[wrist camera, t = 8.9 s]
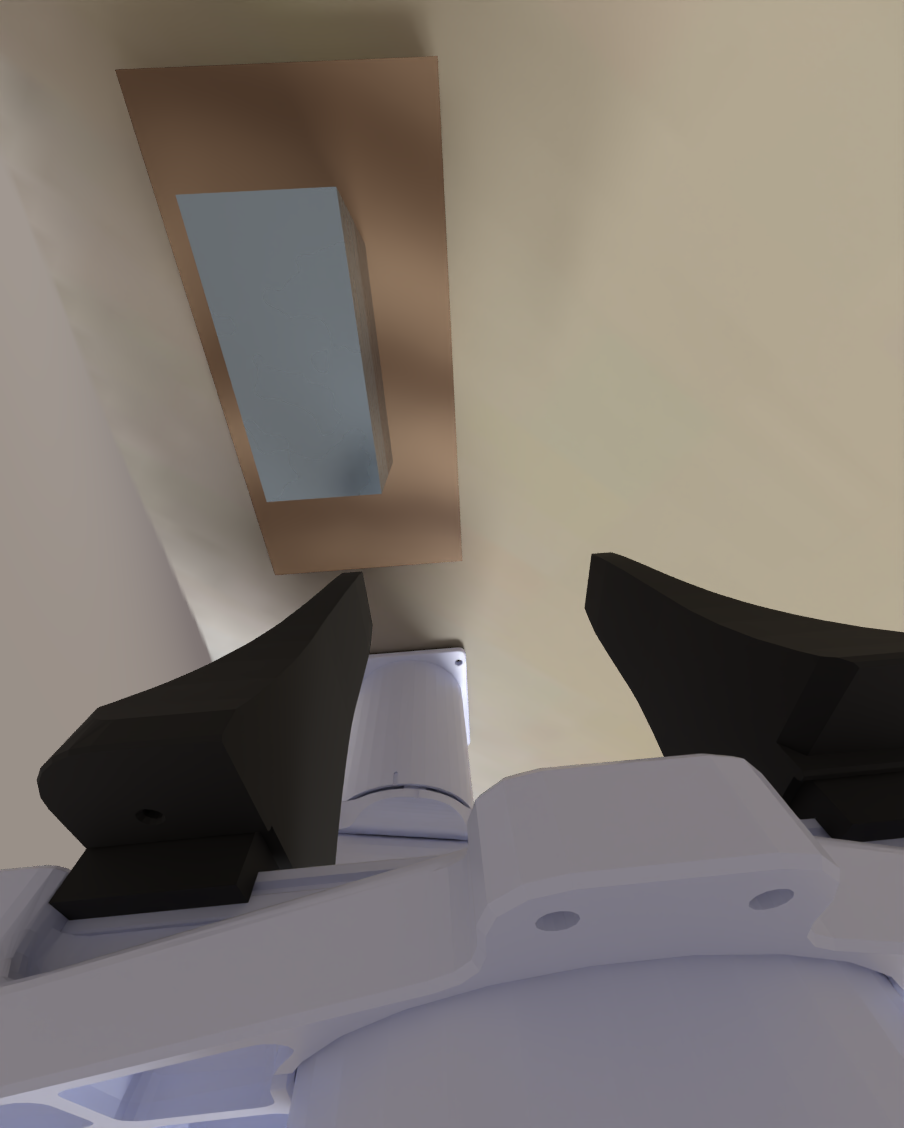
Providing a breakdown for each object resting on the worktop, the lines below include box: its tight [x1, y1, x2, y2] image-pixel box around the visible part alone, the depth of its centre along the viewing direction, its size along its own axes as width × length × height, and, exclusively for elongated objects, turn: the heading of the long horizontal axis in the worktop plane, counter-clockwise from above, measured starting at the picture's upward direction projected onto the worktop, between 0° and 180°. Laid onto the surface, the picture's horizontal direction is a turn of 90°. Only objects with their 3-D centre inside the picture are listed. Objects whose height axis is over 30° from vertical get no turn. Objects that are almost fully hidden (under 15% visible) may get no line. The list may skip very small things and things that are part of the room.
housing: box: [176, 187, 393, 502], centre depth 14 cm, size 4×8×5 cm, turn 3°
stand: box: [115, 56, 462, 575], centre depth 17 cm, size 18×10×2 cm, turn 3°
